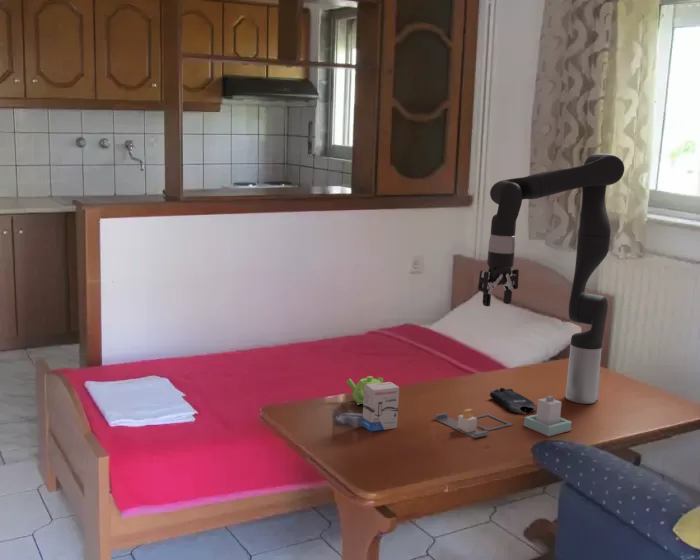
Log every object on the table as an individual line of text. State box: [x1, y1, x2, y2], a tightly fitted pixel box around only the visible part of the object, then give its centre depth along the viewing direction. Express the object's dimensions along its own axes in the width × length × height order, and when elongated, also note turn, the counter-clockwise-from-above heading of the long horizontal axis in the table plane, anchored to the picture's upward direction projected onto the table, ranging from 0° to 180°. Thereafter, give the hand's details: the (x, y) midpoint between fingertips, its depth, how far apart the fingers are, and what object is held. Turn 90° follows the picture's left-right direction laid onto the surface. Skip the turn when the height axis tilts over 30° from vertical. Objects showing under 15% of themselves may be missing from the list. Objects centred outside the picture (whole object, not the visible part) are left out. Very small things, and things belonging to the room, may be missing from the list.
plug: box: [536, 395, 563, 426], centre depth 224 cm, size 4×4×9 cm
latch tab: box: [457, 408, 478, 432], centre depth 219 cm, size 3×4×6 cm
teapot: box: [346, 375, 384, 404], centre depth 236 cm, size 11×12×8 cm
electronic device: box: [489, 387, 537, 415], centre depth 242 cm, size 9×6×15 cm
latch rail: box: [434, 411, 489, 439], centre depth 222 cm, size 4×17×1 cm, turn 35°
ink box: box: [361, 381, 400, 433], centre depth 218 cm, size 9×5×12 cm, turn 117°
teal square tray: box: [523, 413, 573, 437], centre depth 224 cm, size 9×9×2 cm
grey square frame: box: [474, 413, 513, 432], centre depth 227 cm, size 10×10×1 cm
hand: (496, 304), depth 238 cm, fingers open, 8 cm apart
